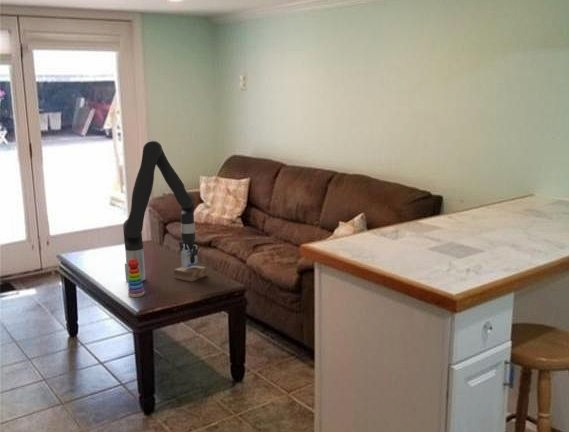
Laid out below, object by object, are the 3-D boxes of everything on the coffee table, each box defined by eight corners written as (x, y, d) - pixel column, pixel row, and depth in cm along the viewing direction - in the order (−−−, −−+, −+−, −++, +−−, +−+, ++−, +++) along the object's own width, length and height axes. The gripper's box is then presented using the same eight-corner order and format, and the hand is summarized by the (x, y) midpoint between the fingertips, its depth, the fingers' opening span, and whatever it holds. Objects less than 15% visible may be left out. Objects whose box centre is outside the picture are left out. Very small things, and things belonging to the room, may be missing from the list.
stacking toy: (142, 291, 304) (139, 255, 300) (146, 296, 297) (144, 259, 293) (126, 294, 300) (123, 257, 296) (130, 298, 293) (127, 261, 289)
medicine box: (187, 267, 320) (186, 252, 318) (181, 266, 323) (180, 250, 321) (197, 264, 326) (197, 248, 324) (192, 262, 329) (191, 247, 327)
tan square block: (191, 282, 318) (191, 273, 317) (174, 278, 324) (174, 269, 323) (206, 276, 328) (205, 267, 326) (189, 272, 334) (189, 263, 333)
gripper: (173, 230, 322) (175, 261, 326) (191, 234, 313) (192, 266, 316) (185, 227, 328) (186, 258, 331) (202, 231, 318) (203, 263, 322)
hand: (189, 261), depth 324 cm, fingers closed on medicine box, 4 cm apart
